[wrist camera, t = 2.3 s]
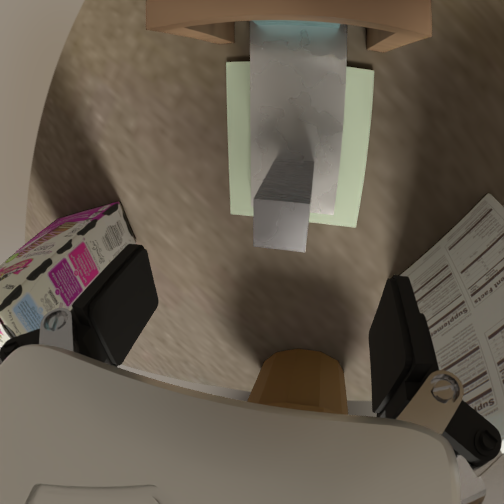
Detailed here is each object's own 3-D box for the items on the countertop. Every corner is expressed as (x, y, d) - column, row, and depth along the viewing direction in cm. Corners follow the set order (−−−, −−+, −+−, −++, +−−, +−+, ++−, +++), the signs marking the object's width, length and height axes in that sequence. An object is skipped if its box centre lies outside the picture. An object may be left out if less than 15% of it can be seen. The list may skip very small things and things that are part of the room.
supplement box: (536, 273, 20) (600, 409, 6) (450, 343, 27) (473, 485, 13) (488, 188, 18) (614, 356, 4) (383, 286, 25) (399, 481, 11)
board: (227, 62, 18) (226, 62, 17) (373, 70, 16) (374, 70, 16) (232, 212, 24) (230, 214, 24) (355, 225, 23) (355, 227, 22)
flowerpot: (362, 334, 29) (327, 630, 5) (357, 399, 36) (330, 600, 12) (233, 336, 33) (140, 587, 9) (259, 398, 40) (205, 582, 16)
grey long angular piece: (252, -44, 12) (214, -94, 5) (343, -42, 11) (351, -96, 4) (253, 201, 23) (222, 261, 16) (333, 209, 21) (335, 275, 15)
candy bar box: (119, 196, 26) (-7, 312, 13) (138, 241, 29) (36, 366, 15) (56, 215, 29) (-41, 303, 16) (73, 251, 32) (-13, 343, 19)
